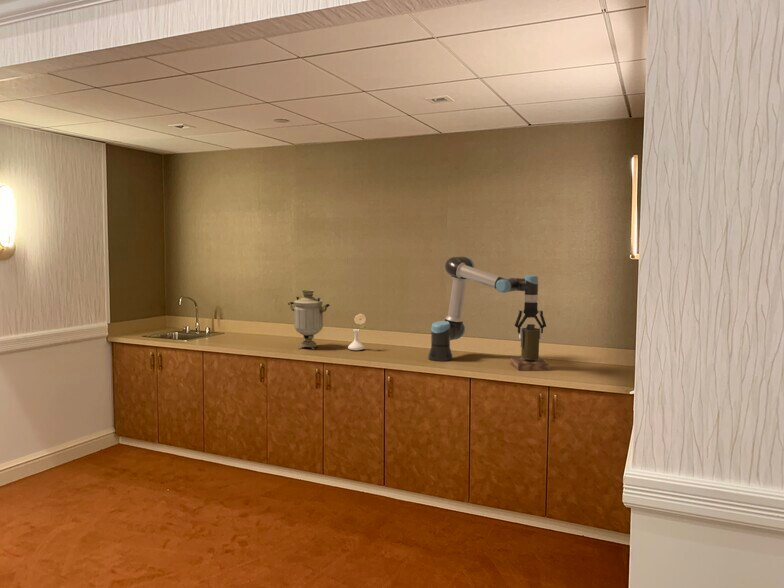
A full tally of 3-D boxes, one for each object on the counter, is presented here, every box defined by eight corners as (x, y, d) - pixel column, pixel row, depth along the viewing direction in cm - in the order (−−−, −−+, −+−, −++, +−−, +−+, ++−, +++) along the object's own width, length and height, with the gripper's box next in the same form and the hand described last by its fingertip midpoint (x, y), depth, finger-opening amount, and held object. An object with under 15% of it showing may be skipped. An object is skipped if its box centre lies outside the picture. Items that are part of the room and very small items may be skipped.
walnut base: (518, 370, 347) (518, 363, 347) (510, 364, 365) (510, 357, 365) (548, 370, 348) (549, 363, 347) (540, 363, 366) (540, 357, 365)
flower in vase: (345, 350, 406) (345, 314, 404) (351, 347, 417) (351, 312, 415) (363, 352, 402) (363, 314, 400) (369, 349, 413) (369, 312, 411)
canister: (532, 355, 363) (533, 323, 361) (542, 359, 353) (543, 325, 351) (516, 356, 359) (517, 323, 357) (526, 360, 349) (527, 326, 347)
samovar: (340, 346, 423) (339, 289, 419) (316, 352, 400) (315, 292, 397) (307, 342, 438) (306, 287, 435) (282, 347, 416) (281, 290, 413)
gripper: (512, 302, 349) (511, 339, 351) (552, 302, 350) (551, 339, 352) (509, 301, 356) (508, 337, 358) (548, 301, 357) (547, 337, 359)
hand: (530, 338), depth 355 cm, fingers closed on canister, 11 cm apart
